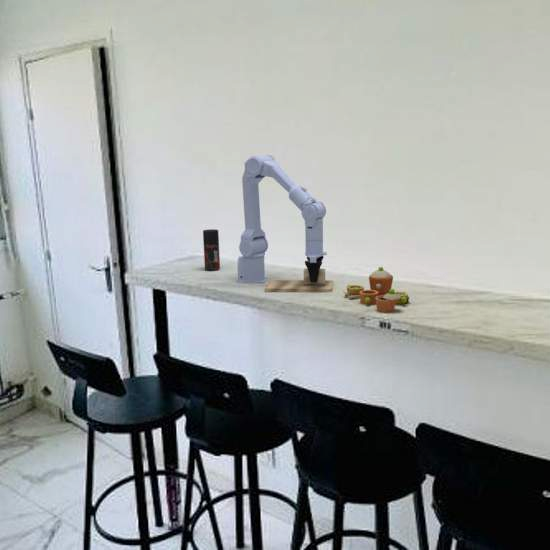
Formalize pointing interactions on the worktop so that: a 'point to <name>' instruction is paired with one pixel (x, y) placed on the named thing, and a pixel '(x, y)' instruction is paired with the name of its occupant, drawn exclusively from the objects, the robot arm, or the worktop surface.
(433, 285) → the worktop surface
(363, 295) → the toy tea set
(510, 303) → the worktop surface
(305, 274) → the block
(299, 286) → the board
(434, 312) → the worktop surface
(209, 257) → the deodorant
